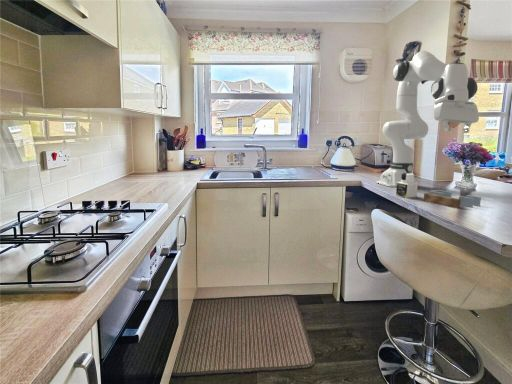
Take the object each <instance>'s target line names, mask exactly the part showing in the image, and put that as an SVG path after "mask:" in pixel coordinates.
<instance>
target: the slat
mask: <svg viewBox="0 0 512 384" xmlns="http://www.w3.org/2000/svg"><path fill="white" fill-rule="evenodd" d="M423 202H426V203H429V202H430V203H431V204H434V205H435V204H436V205H438V206H439V205H440V206H444V207H448V208H452V209H458V208H459V209H460V207H461V205H460V202H461V199H459V198H457V197H452V196H451V197H446V196H441V195H436V194H431V193H429V192H427V193H424V194H423Z"/></svg>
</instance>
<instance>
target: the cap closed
mask: <svg viewBox="0 0 512 384" xmlns="http://www.w3.org/2000/svg"><path fill="white" fill-rule="evenodd" d="M428 193H431V194H436V195H441V196H446V197H452V193H453V192H452V191H447V190H441V189H433V190H428Z"/></svg>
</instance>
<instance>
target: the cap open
mask: <svg viewBox="0 0 512 384" xmlns="http://www.w3.org/2000/svg"><path fill="white" fill-rule="evenodd" d="M458 199H461V202H460V206H462V207H465V208H474V207H481V201H482V197H481V196H476V195H469V194H466V195H465V196H462V195H459V196H458Z"/></svg>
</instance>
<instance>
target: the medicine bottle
mask: <svg viewBox="0 0 512 384" xmlns="http://www.w3.org/2000/svg"><path fill="white" fill-rule="evenodd" d="M401 181H402V182H397V187H396V189H395V190H396V191H395V196H398V197H402V198H406V199H410V198H416V197H417V196H418V185H419V183H418V182H415V174H414V173H413V172H412V173H403V174H402V175H401Z"/></svg>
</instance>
